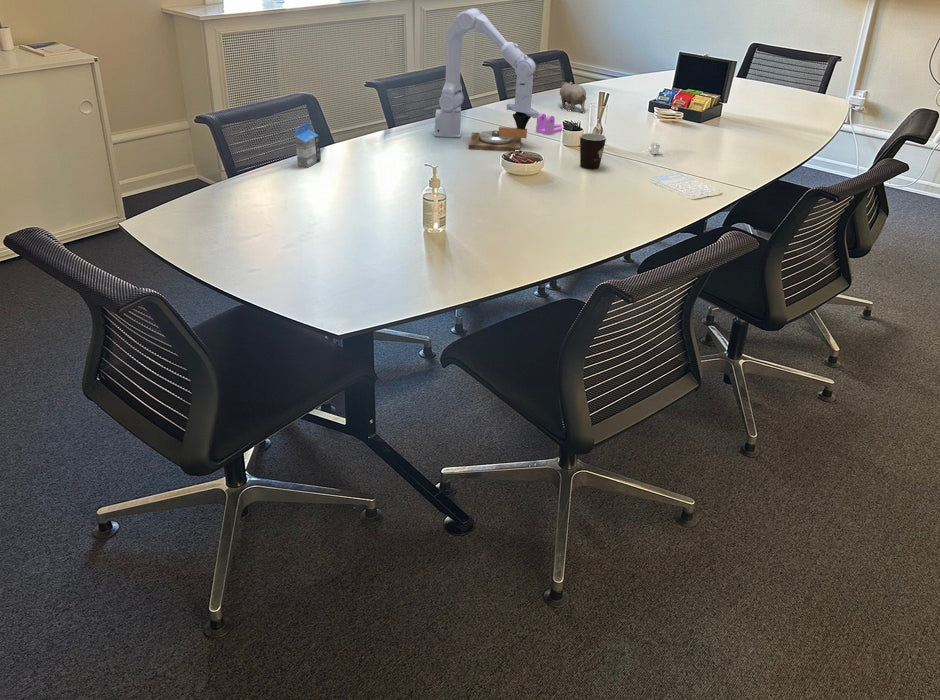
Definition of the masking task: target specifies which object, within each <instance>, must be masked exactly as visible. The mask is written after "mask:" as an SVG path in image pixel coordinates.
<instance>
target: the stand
mask: <svg viewBox="0 0 940 700" xmlns="http://www.w3.org/2000/svg"><path fill="white" fill-rule="evenodd" d="M480 133H481V132H472V133H471V136H470V138H469V139H470V140H469V143H468V150H481V151H496V152H511V151H515V150H520V151H521V144H522V142H521V140H522V138H515V137H513V138H512V142H510V143H507V144H489V143H485V142H482V141H480V140H479V134H480Z"/></svg>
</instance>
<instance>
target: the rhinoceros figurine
mask: <svg viewBox="0 0 940 700" xmlns="http://www.w3.org/2000/svg"><path fill="white" fill-rule="evenodd" d="M559 95H560V96H561V97H560V99H561V104H562V106H560V108H561V109H563V108H564V109H565V108H566V107H567V106H566V103H567V104H568V105H569V106H568V108H567V110H573V109H575V106H579V105H580V107H581V109H580V112H581V113H583V112H585V113H586V111H585V102H586V100H587V91H586V89H585V88H584V87H583V86H581V85H578V84H576V83H573V82H572V81H570V82H566V81H565V82H564V81H562V85H561V88H560V90H559ZM570 105H571V106H570ZM567 110H566V111H567Z"/></svg>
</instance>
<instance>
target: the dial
mask: <svg viewBox="0 0 940 700" xmlns="http://www.w3.org/2000/svg"><path fill="white" fill-rule="evenodd" d="M479 133H480V134H479V140H480V141H482V142H485V143H489V144H507V143H510V142H512V138H513V137H515V138H521V139H527V137H528V128H525V129H523V128H517V127H511V126H510V127H509V126H499V127H498V130H485V131H481V132H479Z"/></svg>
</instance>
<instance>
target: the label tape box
mask: <svg viewBox="0 0 940 700" xmlns="http://www.w3.org/2000/svg"><path fill="white" fill-rule="evenodd" d="M302 129H303V130H302ZM294 139H295V149H296V151H295V152H296V158H297V167H299V168H300V167H301V168H306V169H309V168H310V167H311V166H313V165H315V164H317V163H319V162H320V161H322V155H321V144H320V140H321V139H320V135H318V134H317V133H315V132H314V131H312V130H311V129H310V121H309V122H306V123H304V124H302V125H299V126H297V127H295V128H294Z"/></svg>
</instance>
